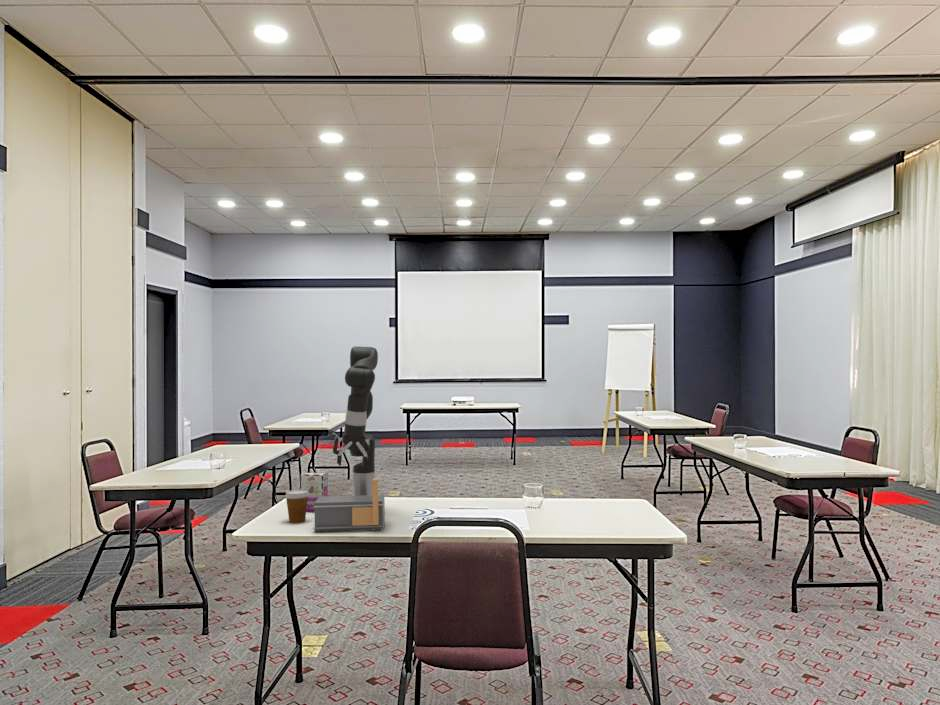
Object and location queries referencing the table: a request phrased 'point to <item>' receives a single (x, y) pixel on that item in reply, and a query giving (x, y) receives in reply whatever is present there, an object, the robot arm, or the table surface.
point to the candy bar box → (314, 487)
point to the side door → (367, 510)
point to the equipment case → (344, 512)
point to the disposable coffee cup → (297, 505)
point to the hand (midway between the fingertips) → (351, 465)
